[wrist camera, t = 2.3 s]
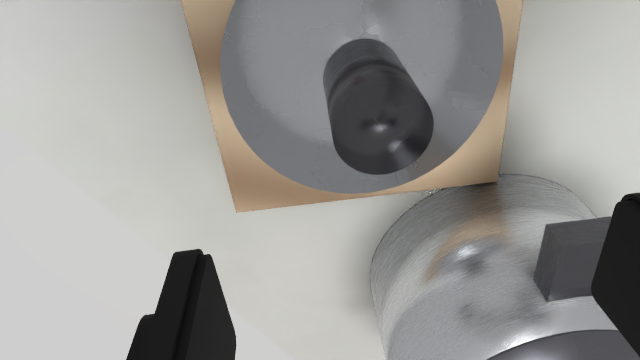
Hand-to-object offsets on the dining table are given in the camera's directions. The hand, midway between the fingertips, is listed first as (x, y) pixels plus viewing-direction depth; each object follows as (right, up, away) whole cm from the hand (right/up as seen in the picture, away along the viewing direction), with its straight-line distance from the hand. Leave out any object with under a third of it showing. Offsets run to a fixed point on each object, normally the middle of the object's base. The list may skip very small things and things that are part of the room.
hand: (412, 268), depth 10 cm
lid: (0, +7, +9) cm, 12 cm away
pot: (+8, -3, +18) cm, 20 cm away
